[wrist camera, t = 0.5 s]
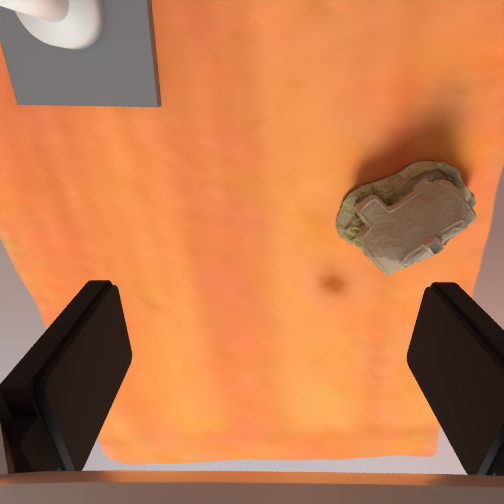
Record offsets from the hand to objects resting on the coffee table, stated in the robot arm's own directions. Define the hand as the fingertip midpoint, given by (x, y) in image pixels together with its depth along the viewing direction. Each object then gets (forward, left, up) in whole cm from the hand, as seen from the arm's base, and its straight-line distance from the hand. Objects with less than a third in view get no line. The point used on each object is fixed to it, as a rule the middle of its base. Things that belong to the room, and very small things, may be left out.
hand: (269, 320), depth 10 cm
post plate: (-12, -17, -29) cm, 36 cm away
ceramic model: (+7, +16, -30) cm, 35 cm away
